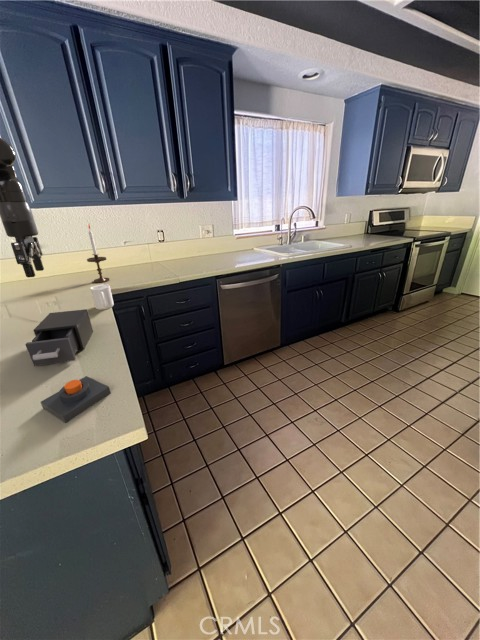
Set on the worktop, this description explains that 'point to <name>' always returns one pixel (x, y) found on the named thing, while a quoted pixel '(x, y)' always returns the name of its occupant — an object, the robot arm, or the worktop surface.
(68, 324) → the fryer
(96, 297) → the cup
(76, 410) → the block
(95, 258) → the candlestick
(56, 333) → the drawer
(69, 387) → the button
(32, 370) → the worktop surface
